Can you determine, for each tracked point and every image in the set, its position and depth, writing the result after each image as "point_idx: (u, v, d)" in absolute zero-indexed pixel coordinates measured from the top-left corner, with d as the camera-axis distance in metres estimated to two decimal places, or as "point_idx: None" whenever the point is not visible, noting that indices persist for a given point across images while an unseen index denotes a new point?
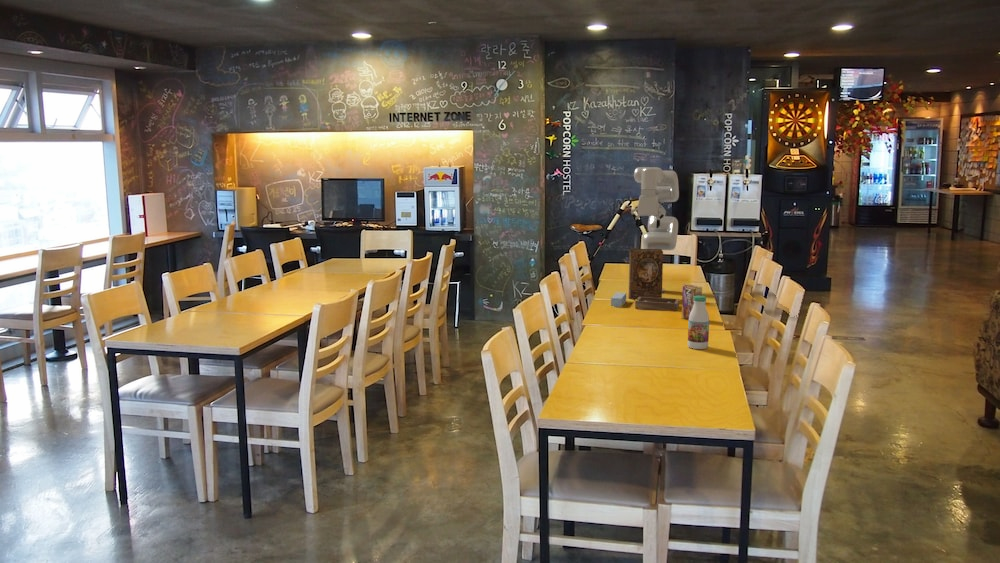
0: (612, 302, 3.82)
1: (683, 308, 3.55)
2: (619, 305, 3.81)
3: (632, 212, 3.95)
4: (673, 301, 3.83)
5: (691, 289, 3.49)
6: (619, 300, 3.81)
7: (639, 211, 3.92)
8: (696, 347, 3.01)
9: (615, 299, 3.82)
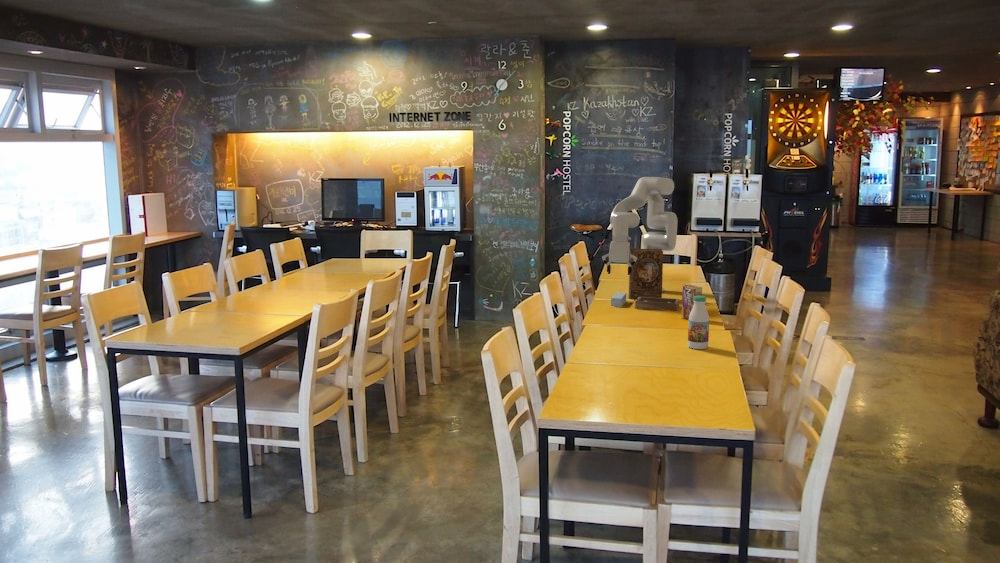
0: (612, 302, 3.82)
1: (683, 308, 3.55)
2: (619, 305, 3.81)
3: (603, 258, 3.87)
4: (673, 301, 3.83)
5: (691, 289, 3.49)
6: (619, 300, 3.81)
7: (610, 257, 3.84)
8: (696, 347, 3.01)
9: (615, 299, 3.82)
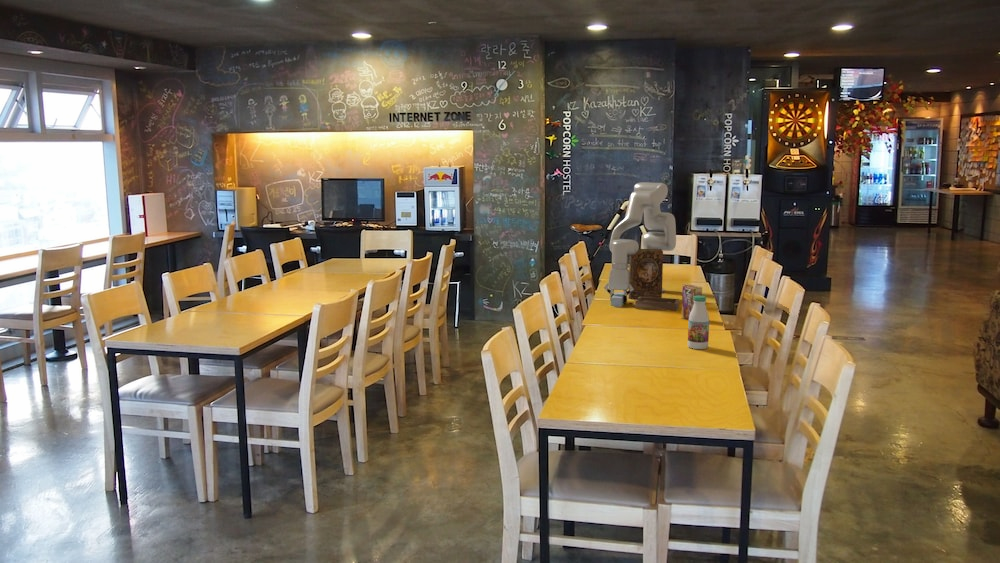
0: (612, 301, 3.82)
1: (683, 308, 3.55)
2: (619, 304, 3.81)
3: (606, 288, 3.89)
4: (673, 301, 3.83)
5: (691, 289, 3.49)
6: (619, 299, 3.81)
7: (610, 285, 3.87)
8: (696, 347, 3.01)
9: (615, 298, 3.81)
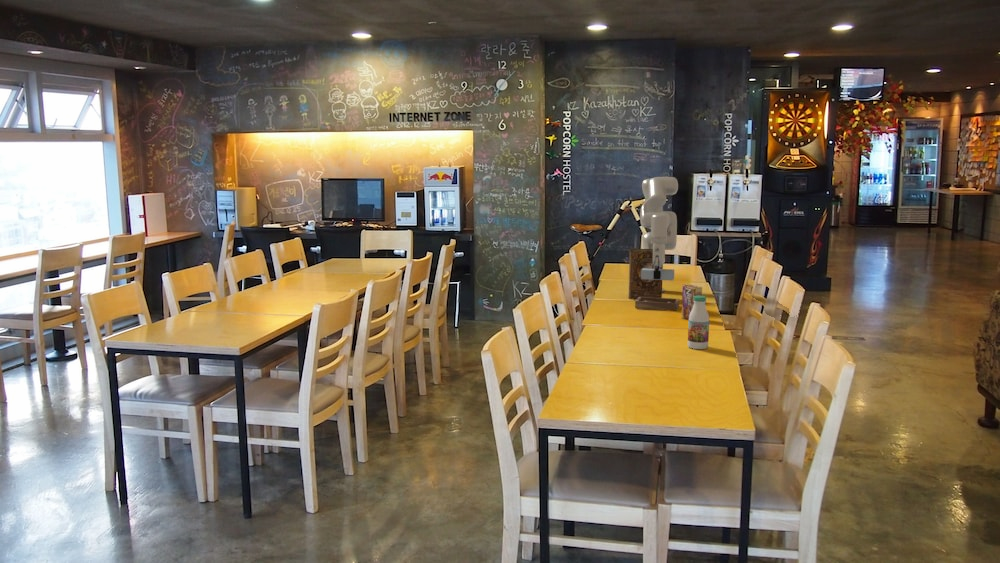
0: None
1: (683, 308, 3.55)
2: (641, 276, 3.79)
3: None
4: (673, 301, 3.83)
5: (691, 289, 3.49)
6: None
7: None
8: (696, 347, 3.01)
9: None
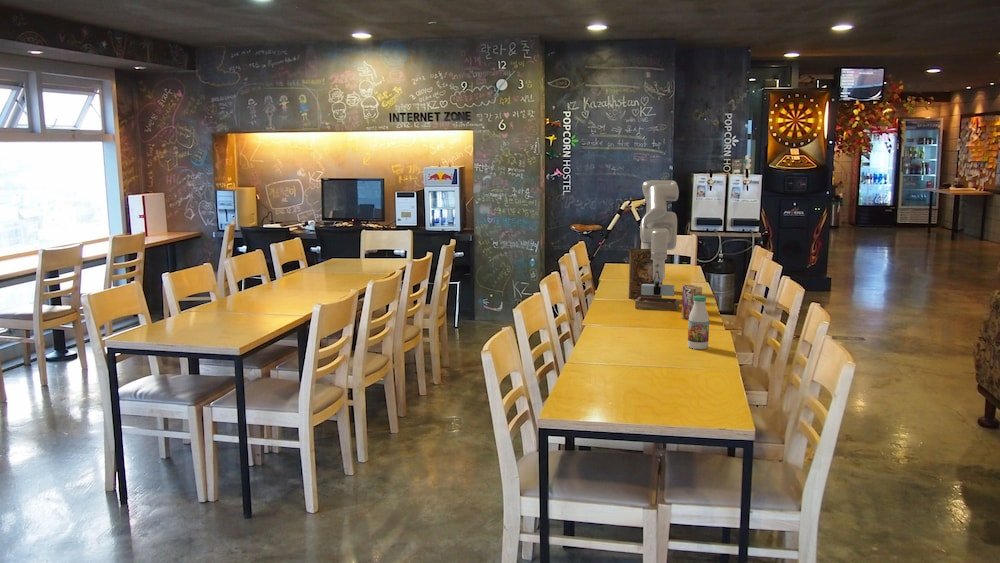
0: None
1: (683, 308, 3.55)
2: (641, 292, 3.80)
3: None
4: (673, 301, 3.83)
5: (691, 289, 3.49)
6: None
7: None
8: (696, 347, 3.01)
9: None
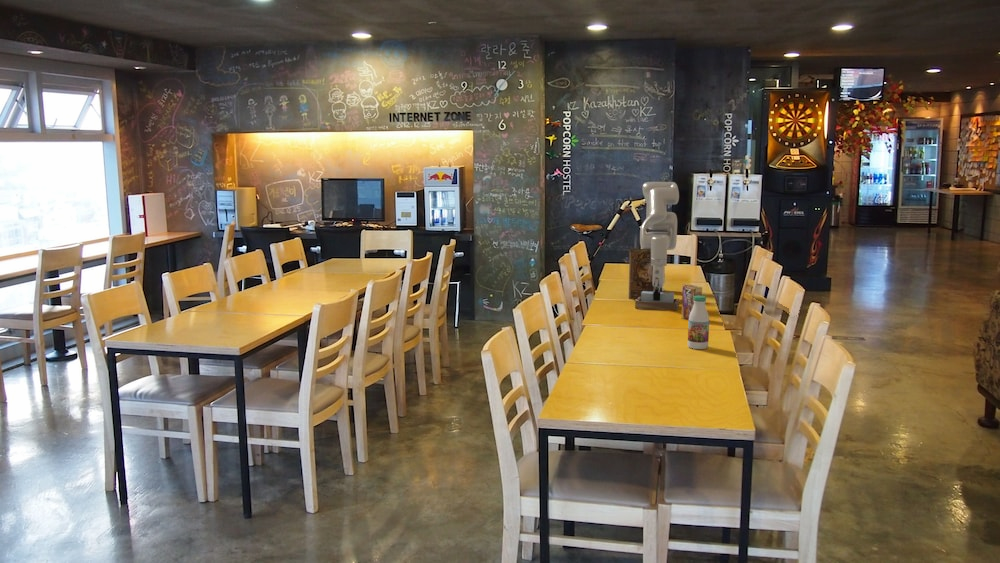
0: None
1: (683, 308, 3.55)
2: (641, 299, 3.81)
3: None
4: None
5: (691, 289, 3.49)
6: (641, 294, 3.80)
7: None
8: (696, 347, 3.01)
9: (641, 293, 3.82)
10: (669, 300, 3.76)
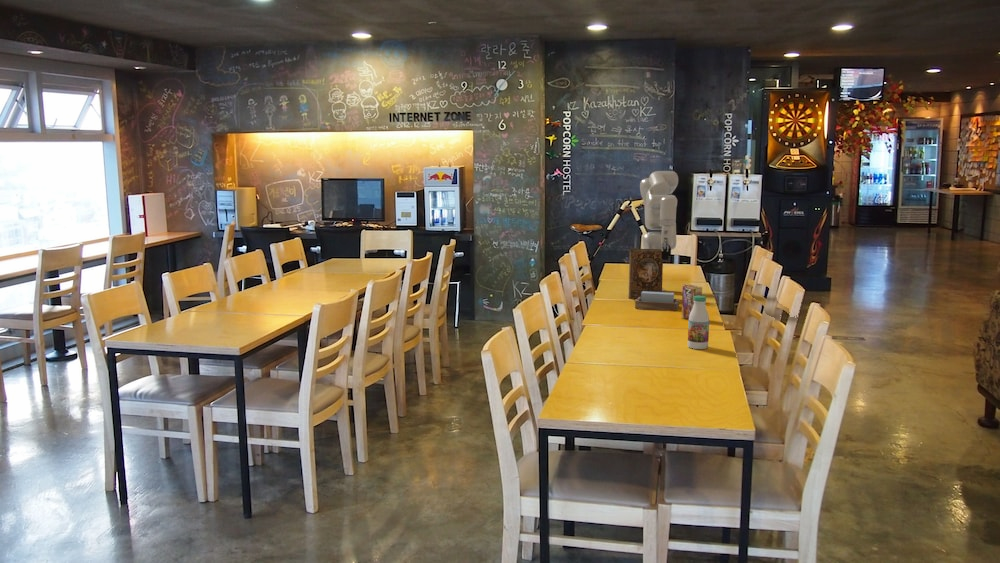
0: None
1: (683, 308, 3.55)
2: (641, 299, 3.81)
3: None
4: None
5: (691, 289, 3.49)
6: (641, 294, 3.80)
7: None
8: (696, 347, 3.01)
9: (641, 293, 3.82)
10: (669, 300, 3.76)
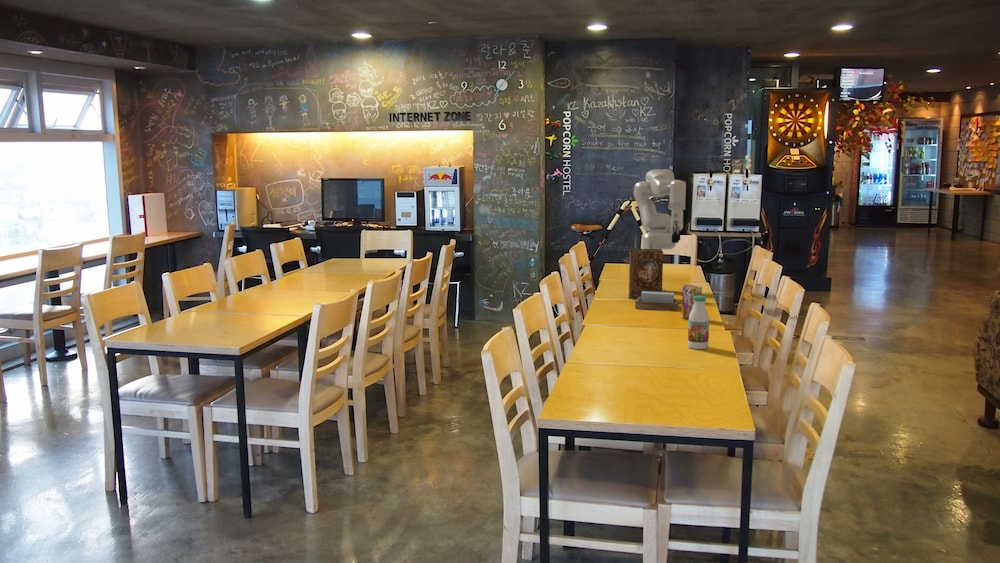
0: None
1: (683, 308, 3.55)
2: (641, 299, 3.81)
3: None
4: None
5: (691, 289, 3.49)
6: (641, 294, 3.80)
7: None
8: (696, 347, 3.01)
9: (641, 293, 3.82)
10: (669, 300, 3.76)
